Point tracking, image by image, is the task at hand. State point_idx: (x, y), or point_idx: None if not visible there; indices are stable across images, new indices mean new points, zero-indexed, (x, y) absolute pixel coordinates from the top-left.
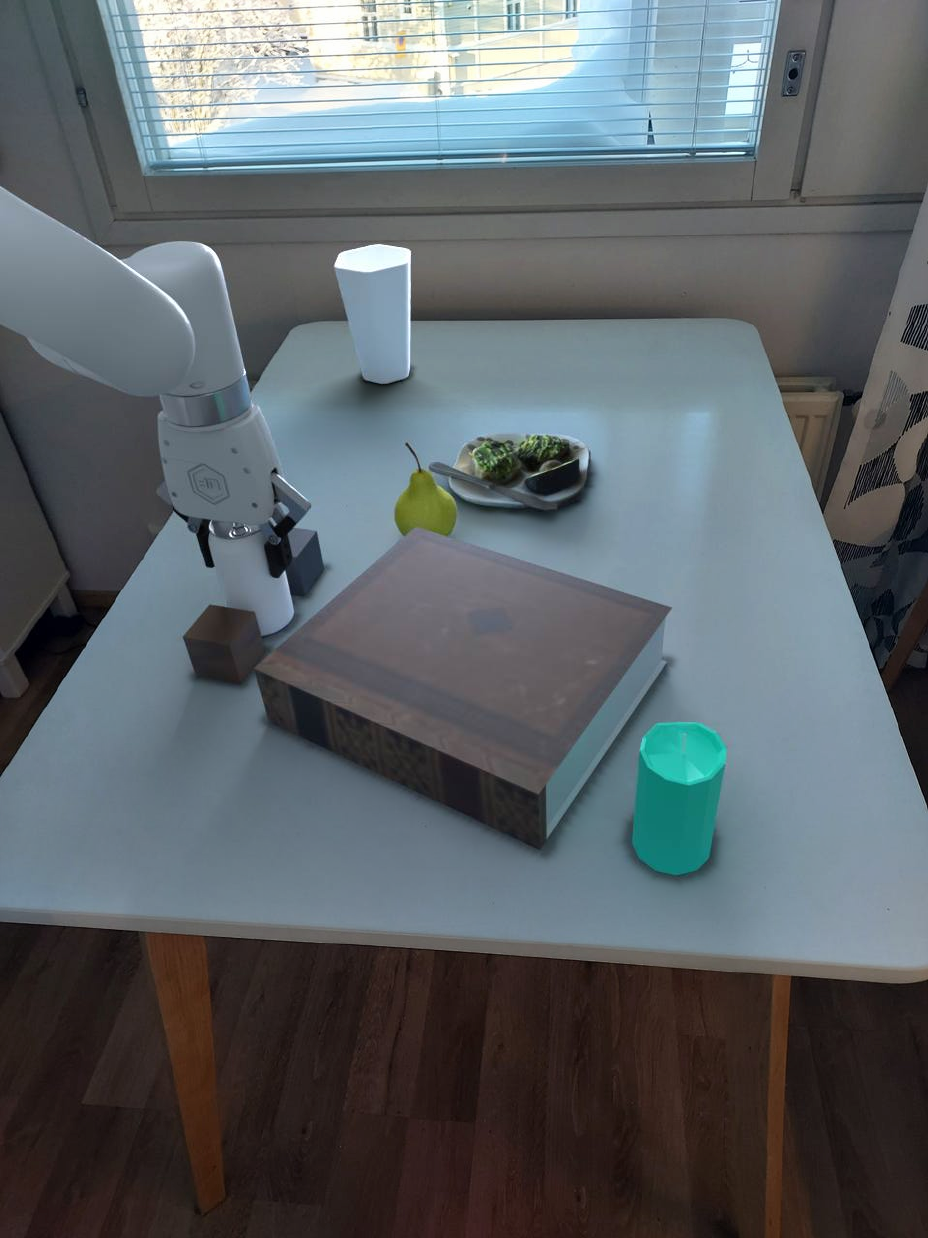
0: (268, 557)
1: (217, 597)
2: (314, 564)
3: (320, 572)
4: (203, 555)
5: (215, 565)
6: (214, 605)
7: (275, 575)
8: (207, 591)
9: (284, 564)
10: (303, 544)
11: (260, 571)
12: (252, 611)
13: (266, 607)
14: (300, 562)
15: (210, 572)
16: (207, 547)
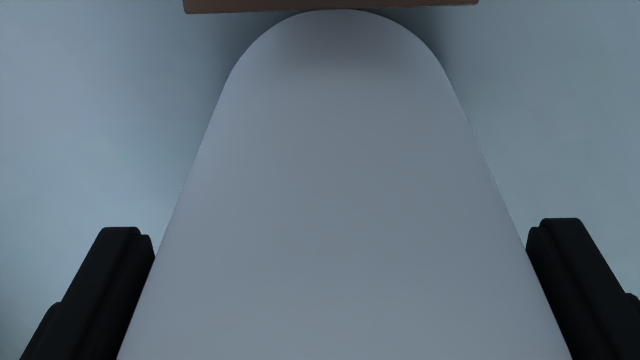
0: (69, 333)
1: (560, 175)
2: None
3: None
4: (606, 275)
5: (481, 214)
6: (443, 2)
7: (104, 237)
8: (609, 193)
9: (50, 311)
10: None
11: (169, 236)
12: (200, 13)
13: (224, 102)
14: None
15: (632, 271)
16: (585, 334)
